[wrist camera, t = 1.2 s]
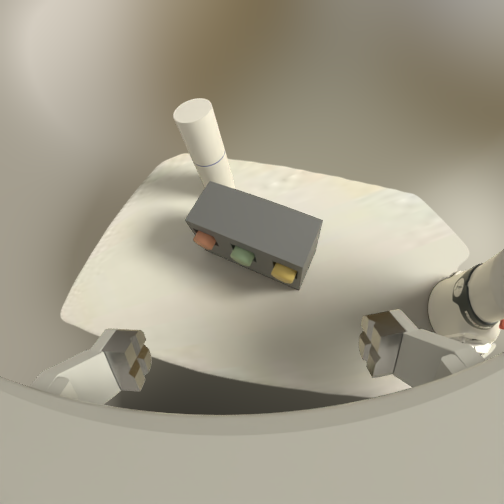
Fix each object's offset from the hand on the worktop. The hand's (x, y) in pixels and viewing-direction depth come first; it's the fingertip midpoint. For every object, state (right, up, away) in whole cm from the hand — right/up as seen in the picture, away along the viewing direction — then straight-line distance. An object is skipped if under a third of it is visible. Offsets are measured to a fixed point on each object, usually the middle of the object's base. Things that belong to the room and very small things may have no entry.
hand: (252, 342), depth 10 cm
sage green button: (-1, +2, +43) cm, 43 cm away
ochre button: (+6, -1, +41) cm, 41 cm away
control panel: (+2, +4, +51) cm, 51 cm away
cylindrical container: (-8, +19, +58) cm, 62 cm away
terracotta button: (-8, +5, +45) cm, 46 cm away
